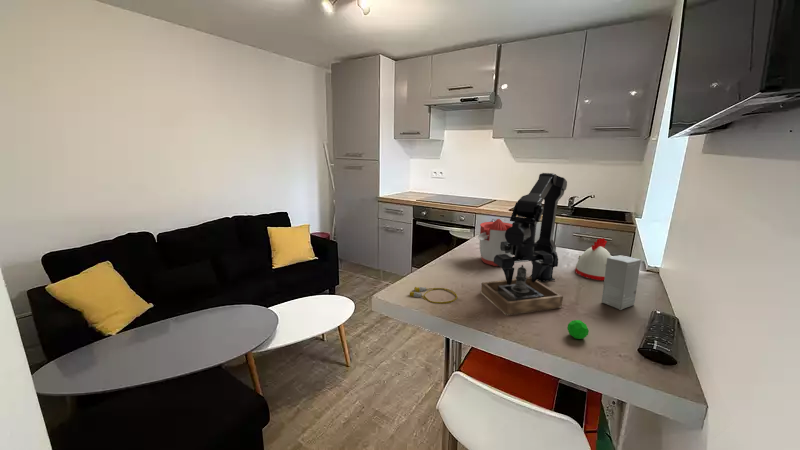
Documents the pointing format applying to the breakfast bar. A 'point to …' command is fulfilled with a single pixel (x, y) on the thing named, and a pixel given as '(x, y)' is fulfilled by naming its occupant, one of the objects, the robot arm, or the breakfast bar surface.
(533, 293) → the inlet collar
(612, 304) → the skincare box
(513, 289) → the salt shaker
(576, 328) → the polyhedron
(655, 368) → the breakfast bar surface
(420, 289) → the extension cord
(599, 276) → the white chicken dome
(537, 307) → the walled box
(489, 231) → the citrus juicer
